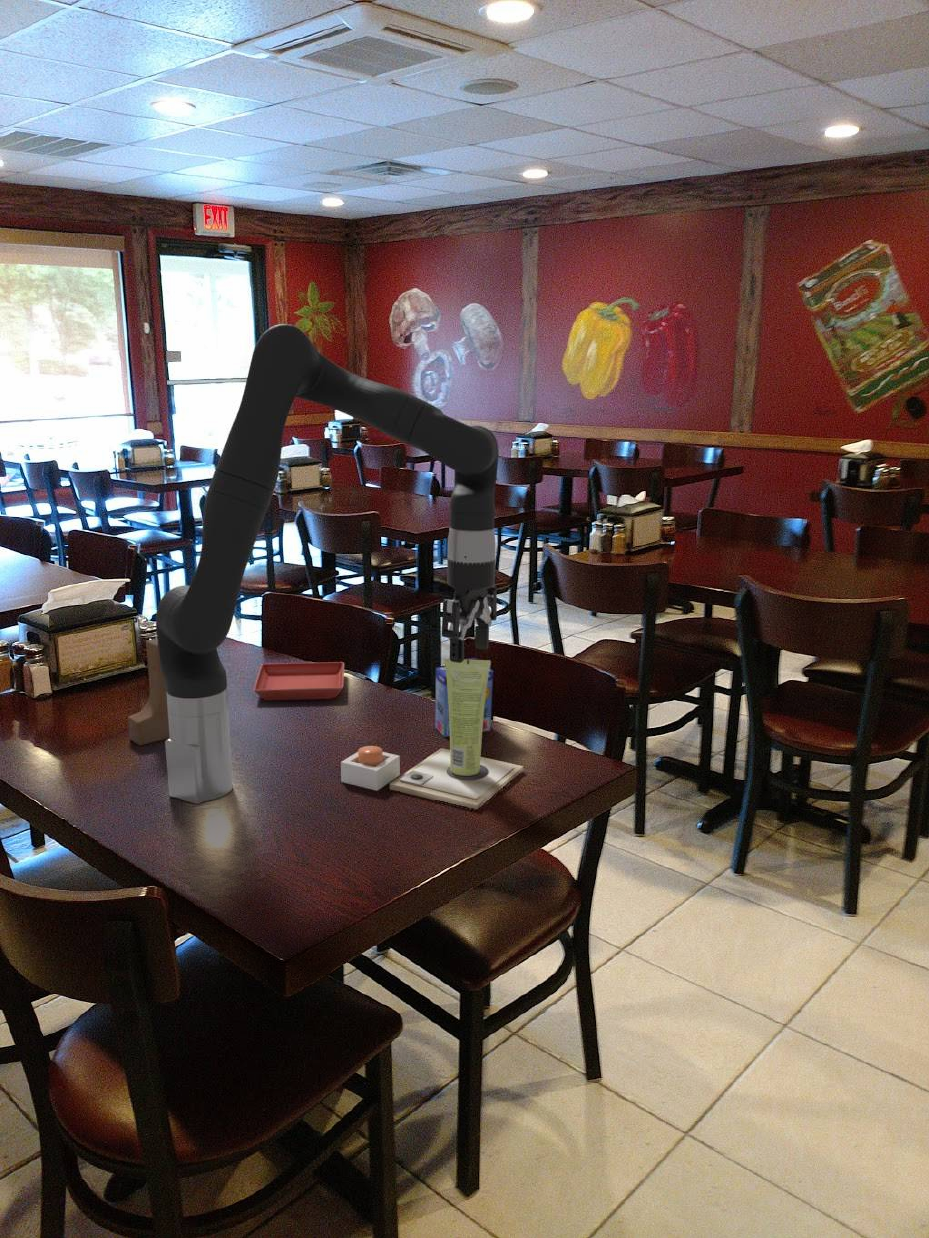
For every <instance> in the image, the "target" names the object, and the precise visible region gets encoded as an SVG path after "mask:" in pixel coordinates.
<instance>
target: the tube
mask: <svg viewBox="0 0 929 1238" xmlns="http://www.w3.org/2000/svg"><path fill="white" fill-rule="evenodd" d="M466 659H467V658H466ZM466 659H465V658H464V661H463V662H461V663H457V662H452V661H450V658H447V657H445V658H444V662H443V663H444V667H445V669H446V677H447V688H448V702H449V722H450V736H449V750H450V770H451V772H452V773H454V774H457V775H460V776H471V775H475V774H477V773H479V771H480V757H482V756H481V754H482V753H481V752H482V739H483V732H482V728H483V717H484V706H485V697H486V688H487V681H488V674H489V669H491V664H492V662H491V660H488V659H487V660H484V659H482V660H481V659H476V660H466Z"/></svg>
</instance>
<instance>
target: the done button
mask: <svg viewBox="0 0 929 1238" xmlns="http://www.w3.org/2000/svg"><path fill="white" fill-rule="evenodd" d="M357 752H358V763H360V764H364V765H368V766H373V767H375V766H377V765H379V764H380V763H382V762H383V752H384V751H383V748H381V747H380V746H377V745H366V746H362V747H360V748H358V751H357Z"/></svg>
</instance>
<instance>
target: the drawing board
mask: <svg viewBox="0 0 929 1238" xmlns="http://www.w3.org/2000/svg"><path fill="white" fill-rule="evenodd" d="M521 771H523V772H524V765H518V764H514V763H510V762H506V761H501V760H497V759H492V758H487V757H483V756H481V757H480V771H479V773H477V774H475V775H471V776H460V775H457V774H454V773H452V772H451V770H450V749H446V748H443V747H441V748H439V749H438V750H436V751H435V752H434V753H431V755H429V756H428V757H426V758H425V759H423V760H422V761H420V762H418V763H417V764H416V765H415V766H413V767H412V768H410V769H409V770H407V771H406V772H404V773H403V774H402V775H401V774H400V775H399V776H398V777H396V778H395V779H393V780H392V781H390V782H389V790H391V791H395V792H399V791H400V792H399V793H403V794H407V795H412V796H416V797H419V798H424V799H428V800H431V801H435V800H440V801H444V802H448V803H451V804H456V805H461V806H466V807H468V808H474V809H478V808H479V807H481V806H482V805H483V803H485V802H486V801H487V800H489V799H490V798H491V797H492V796H493V795H494V794H495V793H496V792H497V791H498V790H500V789H501V788H503V786H505V785H506V784H507V783H508V782H509V781H510V780H512V779H513V778H514V777H515V776H516V775H517V774H518V773H520V772H521ZM451 804H450V805H451ZM481 808H482V807H481Z"/></svg>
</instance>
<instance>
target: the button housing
mask: <svg viewBox="0 0 929 1238" xmlns="http://www.w3.org/2000/svg"><path fill="white" fill-rule="evenodd" d="M400 760H401V756H400V755H398V754H394V753H393V754H392V753H389V752H386V751H383V762H382V763H380V764H379V765H377V766H375V767H373V766H368V765H364V764H360V763H358V751H356V752H355V753H354V754H352V755H350V756H349V757H347V758H345V759H343V760H342V761H340V779H341V780H340V781H341V783H344V784H348V785H353V786H357V787H360V788H364V789H369V790H373V791H379V790H380V789H382V788H384V786H386V785H388V784H390V783H391V782H393V781H394V780H396V779H397V778H399V777H400V776H401V773H400V771H401V768H400V767H401V765H400V764H401V763H400V762H401V761H400Z"/></svg>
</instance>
